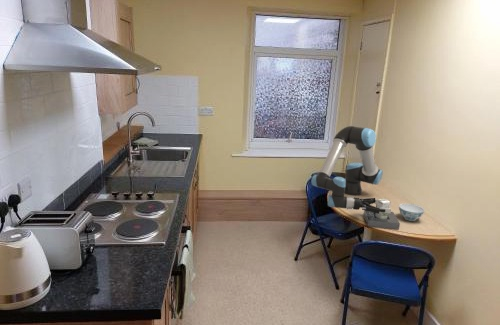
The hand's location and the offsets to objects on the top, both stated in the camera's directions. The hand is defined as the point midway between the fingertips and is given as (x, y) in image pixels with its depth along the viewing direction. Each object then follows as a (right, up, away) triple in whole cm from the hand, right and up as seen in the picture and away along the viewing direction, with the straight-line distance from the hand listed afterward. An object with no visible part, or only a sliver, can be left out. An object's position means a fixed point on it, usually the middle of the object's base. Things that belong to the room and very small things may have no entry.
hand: (388, 206), depth 214 cm
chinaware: (+18, -9, +10) cm, 22 cm away
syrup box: (-4, -10, +3) cm, 11 cm away
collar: (-4, -10, +3) cm, 11 cm away
